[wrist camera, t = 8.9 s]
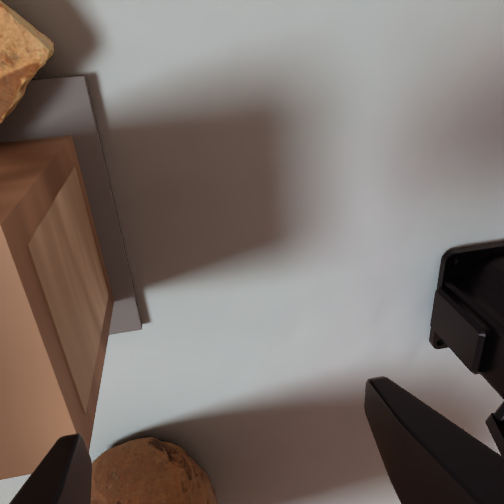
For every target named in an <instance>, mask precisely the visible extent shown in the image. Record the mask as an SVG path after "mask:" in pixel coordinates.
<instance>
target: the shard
mask: <svg viewBox="0 0 504 504" xmlns="http://www.w3.org/2000/svg"><path fill="white" fill-rule="evenodd" d="M53 52H54V43H52V41H51V40H50V39H49V38H47V37H46V36H45V35H44V34H42V33H40V32H39V31H38V30H37V29H36V28H35V27H33V26H32V25H31V24H30V23H28V22H27V21H26V20H25V19H23V18H22V17H21V16H20V15H19V14H17V13H16V12H15V11H13V10H12V9H11V8H10V7H8V6H7V5H5V4H4V3H3V2H2V1H1V0H0V124H1V123H2V122H3V120H4V119H5V118H6V117H7V116H8V115H9V114H10V113H11V112H12V111H13V110H14V109H15V107H16V106H17V104H18V102H19V101H20V100H21V98H22V97H23V96H24V93H25V90H26V86H27V84H28V83H29V82H30V80H31V79H32V78H33V77H34V76H35V75H36V73H37V71H38V70H39V69H40V68H41V67H43V66H44V65H45V64H46V62H47V60H48V59H49V58H50V57H51V56H52V55H53Z"/></svg>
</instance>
